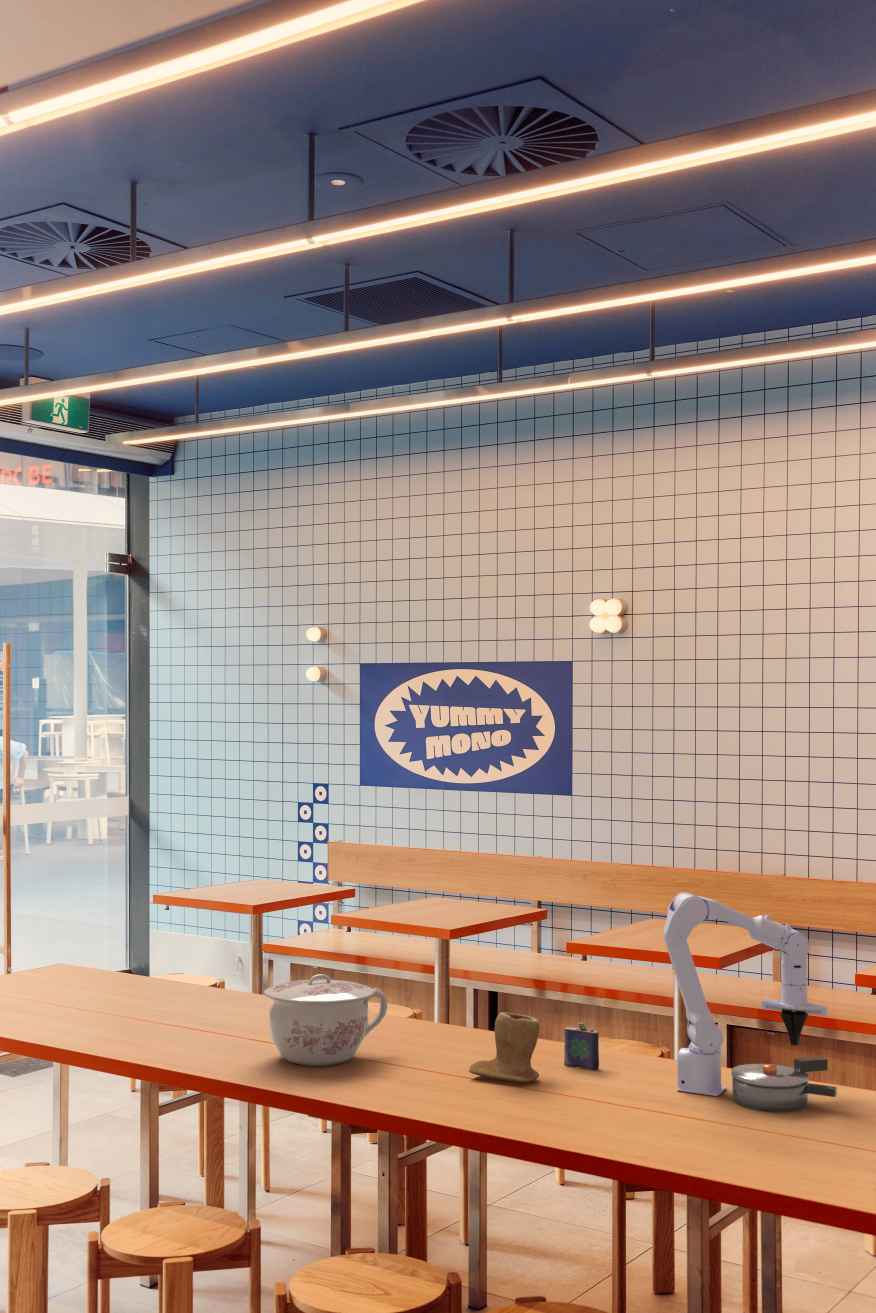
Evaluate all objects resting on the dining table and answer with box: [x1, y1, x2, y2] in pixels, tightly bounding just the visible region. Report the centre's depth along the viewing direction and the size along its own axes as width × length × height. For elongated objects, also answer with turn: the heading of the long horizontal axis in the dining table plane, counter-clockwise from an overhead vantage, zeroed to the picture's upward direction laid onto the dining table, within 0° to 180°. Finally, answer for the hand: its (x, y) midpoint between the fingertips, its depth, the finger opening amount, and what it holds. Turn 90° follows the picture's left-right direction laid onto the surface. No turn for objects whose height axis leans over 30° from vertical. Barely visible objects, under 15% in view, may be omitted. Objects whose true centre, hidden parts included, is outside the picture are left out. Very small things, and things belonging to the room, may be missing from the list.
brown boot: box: [468, 1012, 540, 1083], centre depth 285 cm, size 15×12×15 cm
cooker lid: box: [730, 1056, 829, 1088], centre depth 269 cm, size 22×16×3 cm
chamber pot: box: [263, 973, 388, 1067], centre depth 301 cm, size 28×28×21 cm
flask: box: [563, 1021, 600, 1071], centre depth 297 cm, size 9×3×11 cm, turn 55°
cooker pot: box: [731, 1076, 838, 1113], centre depth 266 cm, size 22×16×5 cm
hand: (794, 1044), depth 277 cm, fingers closed
